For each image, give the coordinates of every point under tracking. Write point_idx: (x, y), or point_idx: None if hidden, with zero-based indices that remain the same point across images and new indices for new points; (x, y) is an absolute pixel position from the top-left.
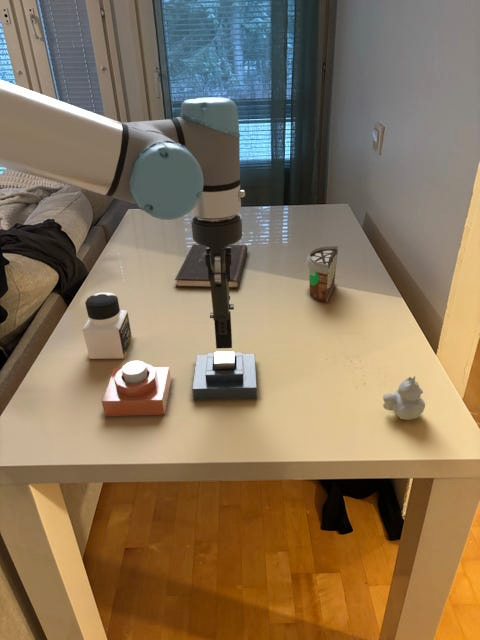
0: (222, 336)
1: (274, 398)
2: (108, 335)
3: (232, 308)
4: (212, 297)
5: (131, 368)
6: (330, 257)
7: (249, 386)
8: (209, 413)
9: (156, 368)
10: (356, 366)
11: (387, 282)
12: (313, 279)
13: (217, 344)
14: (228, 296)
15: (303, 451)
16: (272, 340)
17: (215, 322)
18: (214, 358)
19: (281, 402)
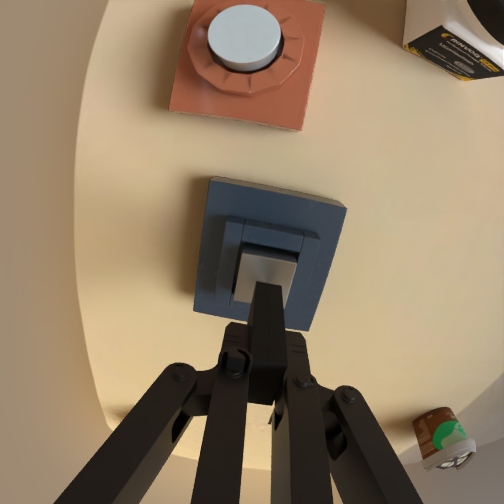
0: (250, 322)
1: (195, 322)
2: (433, 7)
3: (269, 419)
4: (90, 462)
5: (239, 26)
6: (445, 467)
7: (198, 300)
8: (169, 204)
9: (302, 97)
10: (251, 425)
11: (403, 464)
12: (442, 434)
13: (254, 292)
14: (271, 456)
15: (90, 321)
16: (364, 354)
17: (250, 342)
18: (265, 258)
19: (183, 329)
